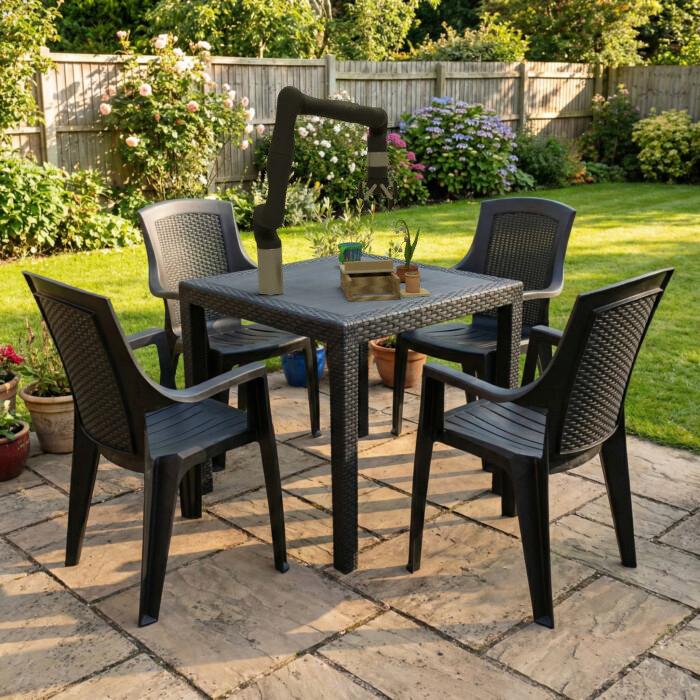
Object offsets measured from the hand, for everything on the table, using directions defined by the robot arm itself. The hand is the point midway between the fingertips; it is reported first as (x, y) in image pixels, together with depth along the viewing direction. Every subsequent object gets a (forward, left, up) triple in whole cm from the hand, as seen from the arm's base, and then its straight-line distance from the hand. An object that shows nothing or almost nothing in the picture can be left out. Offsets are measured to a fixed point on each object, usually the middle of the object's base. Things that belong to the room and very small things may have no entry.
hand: (377, 210), depth 320 cm
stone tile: (+12, -8, -30) cm, 33 cm away
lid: (-4, +4, -22) cm, 23 cm away
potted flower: (+13, +17, -30) cm, 37 cm away
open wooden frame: (-4, -2, -30) cm, 30 cm away
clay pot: (+11, -8, -29) cm, 32 cm away
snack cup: (-4, +53, -30) cm, 61 cm away
